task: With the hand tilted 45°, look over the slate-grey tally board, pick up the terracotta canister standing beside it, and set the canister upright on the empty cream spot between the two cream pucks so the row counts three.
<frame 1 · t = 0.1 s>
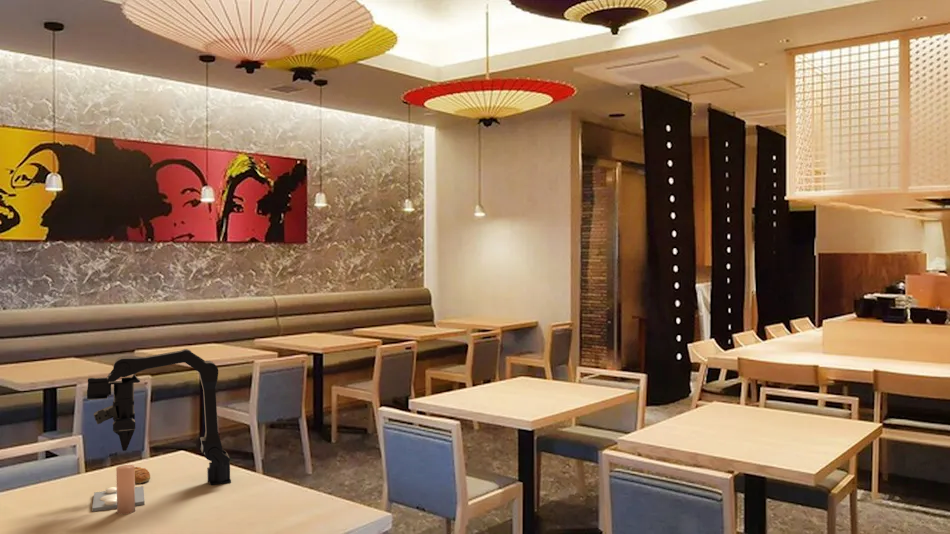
hand: (124, 447, 239), 15 cm above the table, tool pointing down, fingers open, 9 cm apart
tally board: (119, 500, 233), on the table
pastry: (139, 480, 254), on the table
canister: (126, 511, 223), on the table
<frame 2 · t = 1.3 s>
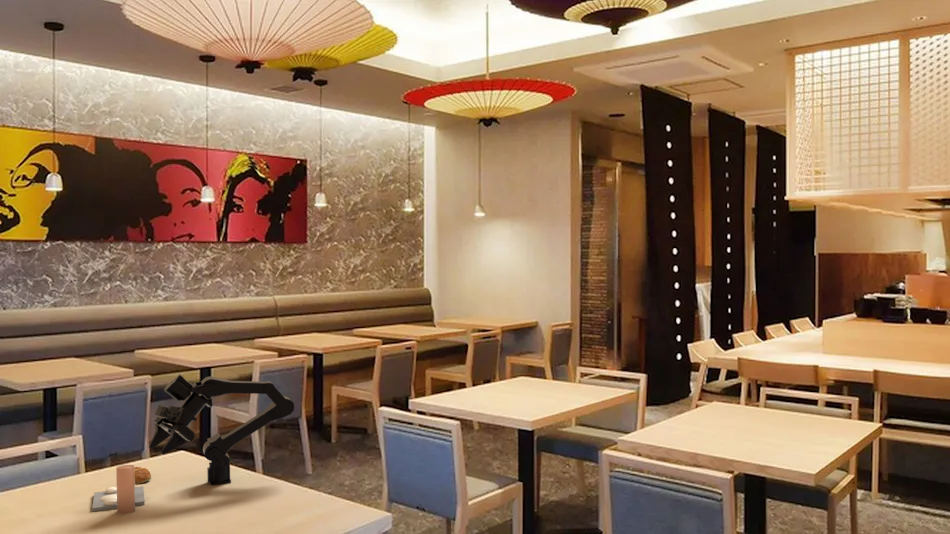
hand: (155, 450, 238), 14 cm above the table, tool tilted 45°, fingers open, 9 cm apart
nothing on the table moved.
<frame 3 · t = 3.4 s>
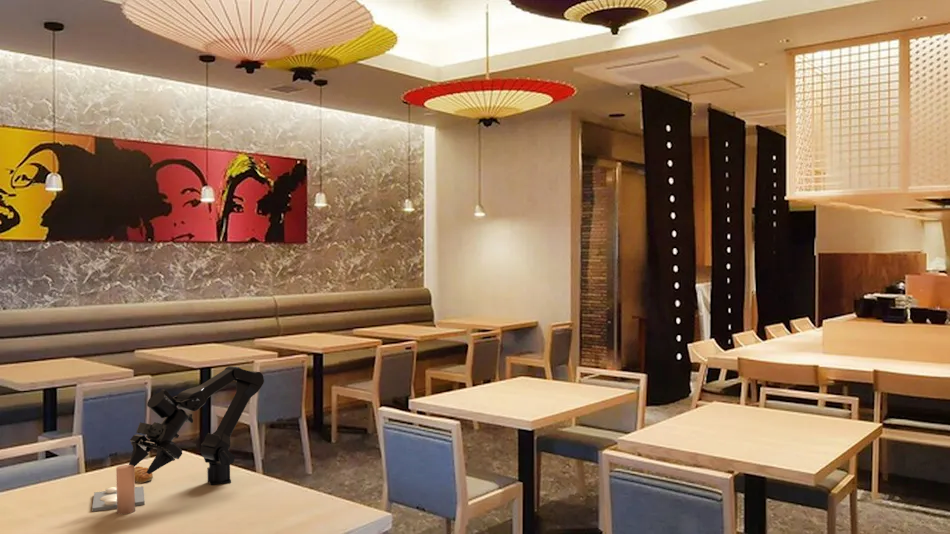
hand: (138, 470, 226), 11 cm above the table, tool tilted 45°, fingers open, 9 cm apart
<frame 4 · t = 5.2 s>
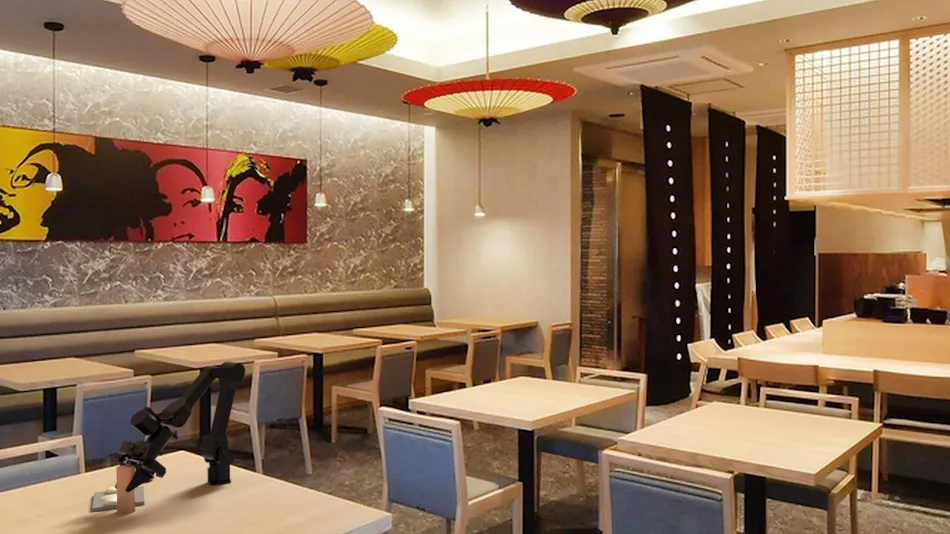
hand: (121, 490, 221), 7 cm above the table, tool tilted 45°, fingers closed on canister, 5 cm apart
canister: (126, 511, 223), on the table, touching gripper
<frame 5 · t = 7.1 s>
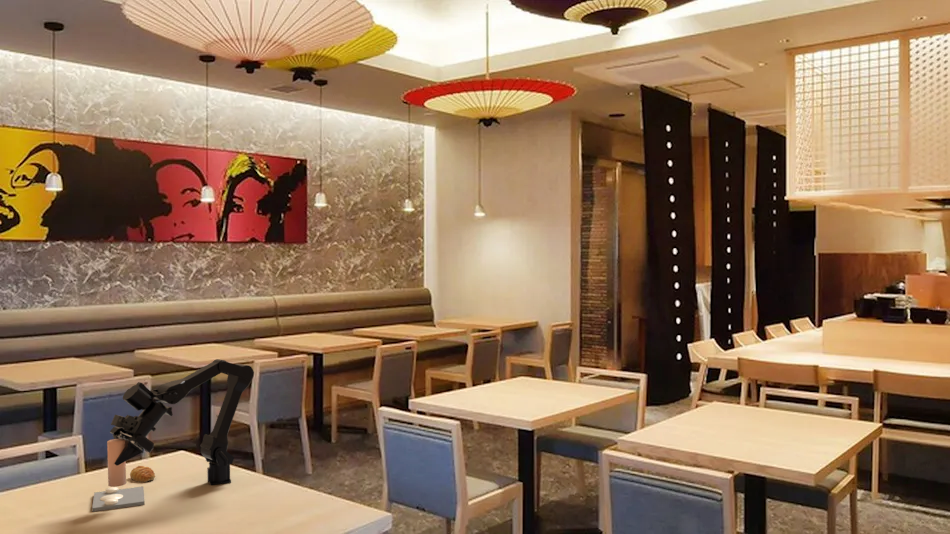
hand: (111, 463, 225), 13 cm above the table, tool tilted 45°, fingers closed on canister, 5 cm apart
canister: (117, 484, 226), point 7 cm above the table, touching gripper
when the fingers open (9 cm above the table, at t = 9.0 s): canister drops 1 cm, resting on tally board.
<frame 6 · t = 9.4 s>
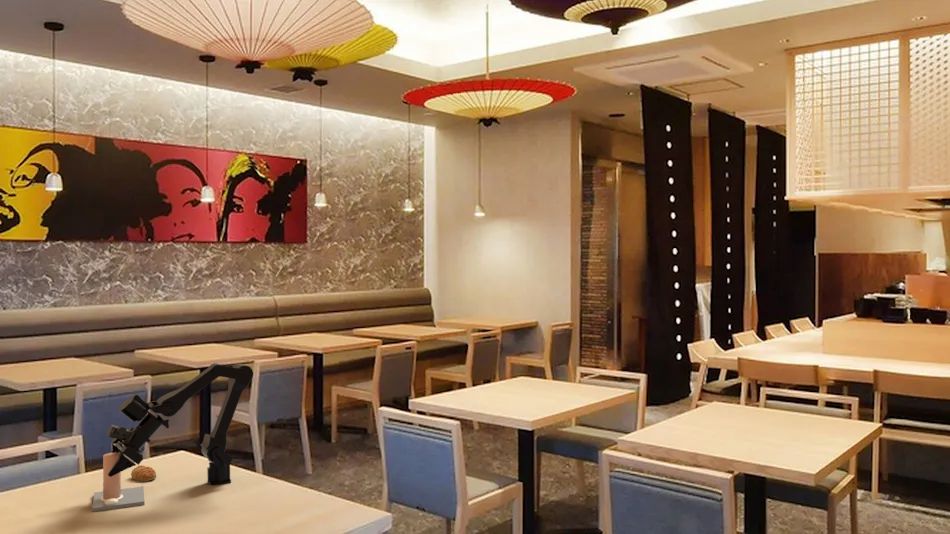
hand: (106, 472, 231), 9 cm above the table, tool tilted 45°, fingers open, 9 cm apart
canister: (111, 497, 232), point 1 cm above the table, touching tally board
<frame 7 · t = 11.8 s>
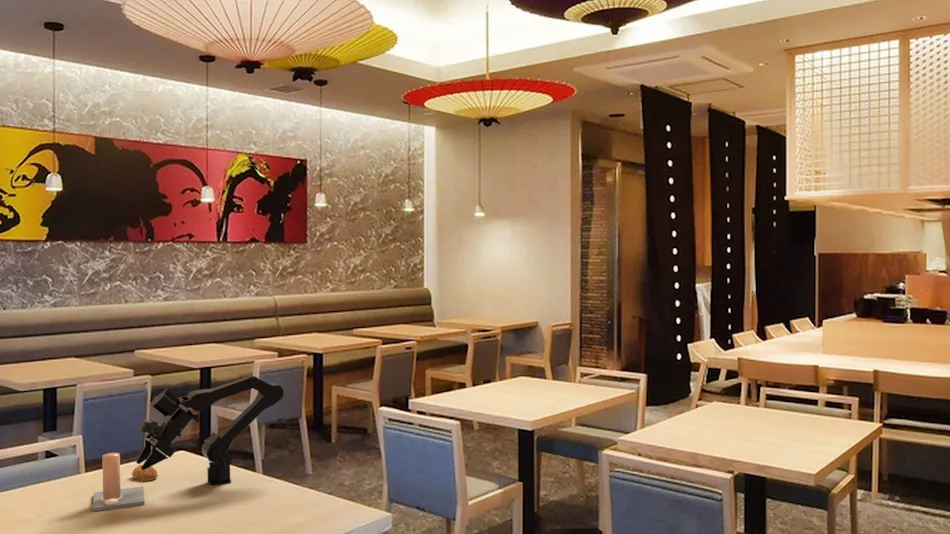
hand: (139, 466, 237), 9 cm above the table, tool tilted 45°, fingers open, 9 cm apart
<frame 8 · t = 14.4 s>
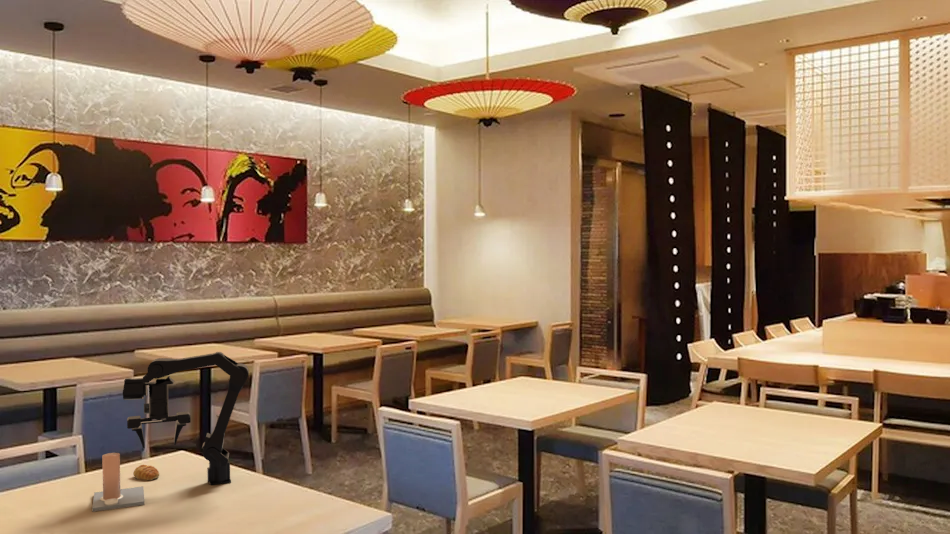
hand: (159, 446, 246), 13 cm above the table, tool pointing down, fingers open, 9 cm apart
at the end: canister 0.1 cm from the target spot on the tally board, point 1.1 cm above the tally board's base; canister tilted 0°; the gripper is holding nothing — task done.
